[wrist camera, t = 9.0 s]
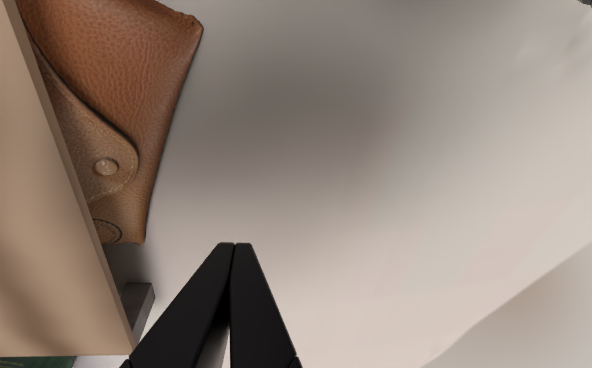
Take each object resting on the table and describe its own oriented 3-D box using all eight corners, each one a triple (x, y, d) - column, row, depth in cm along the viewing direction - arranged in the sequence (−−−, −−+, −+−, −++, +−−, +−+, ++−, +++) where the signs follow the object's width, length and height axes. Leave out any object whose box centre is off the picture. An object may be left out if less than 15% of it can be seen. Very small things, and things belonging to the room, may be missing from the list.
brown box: (32, -189, 11) (-103, -283, 7) (155, 297, 27) (134, 354, 23) (-288, -240, 10) (-658, -383, 6) (33, 297, 26) (-11, 357, 22)
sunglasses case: (148, 252, 24) (58, 308, 18) (87, 202, 26) (-16, 240, 20) (211, 13, 15) (76, -19, 10) (112, -43, 17) (-57, -101, 11)
